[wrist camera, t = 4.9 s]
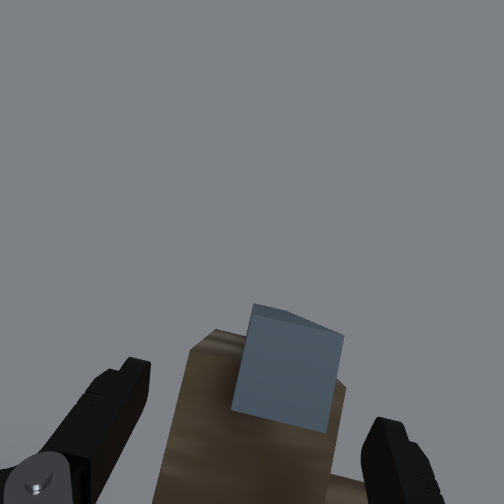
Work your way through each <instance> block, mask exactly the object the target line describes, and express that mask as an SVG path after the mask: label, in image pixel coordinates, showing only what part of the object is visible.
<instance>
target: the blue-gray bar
mask: <svg viewBox="0 0 504 504" xmlns="http://www.w3.org/2000/svg"><path fill="white" fill-rule="evenodd" d="M343 341H344V335H342V334H339V333H337V332H335V331H332V330H330V329H328V328H325V327H323V326H321V325H318V324H316V323H314V322H311V321H309V320H306V319H304V318H302V317H299V316H297V315H295V314H292V313H290V312H288V311H285V310H280V309H276V308H272V307H268V306H263V305H259V304H253V309H252V313H251V317H250V322H249V326H248V330H247V335H246V339H245V344H244V349H243V354H242V359H241V363H240V368H239V373H238V378H237V382H236V387H235V392H234V397H233V401H232V406H231V410H233V411H237V412H241V413H245V414H249V415H253V416H257V417H261V418H265V419H269V420H274V421H278V422H282V423H286V424H290V425H294V426H298V427H302V428H306V429H310V430H314V431H318V432H322V433H326V430H327V425H328V420H329V415H330V409H331V404H332V399H333V393H334V388H335V383H336V377H337V372H338V367H339V361H340V356H341V351H342V346H343Z"/></svg>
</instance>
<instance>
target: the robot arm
mask: <svg viewBox="0 0 504 504" xmlns="http://www.w3.org/2000/svg"><path fill="white" fill-rule="evenodd" d="M150 368H151V362H149V361H145V360H141V359H137V358H133V357H129V358H128V359H127V360H126V361H125V363H124V364H123V365H122V367H121V369H120V370H119V371H117V370H113V369H108V370H106V371H105V372H103V373H102V374H100V375H99V376H98V377H96V378H95V379H94V380H93V382H92V383H91V384H90V386H89V387H88V388H87V390H86V391H85V393H84V394H83V395H82V396H81V398H80V399H79V400H78V401H77V404H76V405H75V406H74V407H73V408H72V409H71V411H70V412H69V413H68V415H67V416H66V417H65V419H64V420H63V421H62V423H61V424H60V425H59V427H58V428H57V429H56V431H55V432H54V433H53V435H52V436H51V437H50V439H49V440H48V441H47V443H46V444H45V445H44V446H43V448H42V449H41V450H40V451H39V452H38V453H37V454H35V455H32V456H30V457H29V458H27V459H25V460H24V461H22V462H21V463H20V464H19V465H17V466H14V467H11V468H7V469H0V504H96V502H97V500H98V497H99V496H100V494H101V492H102V490H103V488H104V486H105V484H106V482H107V480H108V478H109V476H110V474H111V472H112V470H113V468H114V466H115V465H116V463H117V461H118V459H119V457H120V455H121V453H122V451H123V449H124V447H125V445H126V443H127V441H128V439H129V437H130V435H131V433H132V431H133V429H134V427H135V425H136V423H137V422H138V420H139V418H140V416H141V414H142V412H143V409H144V407H145V404H146V401H147V397H148V392H149V381H150V370H151V369H150ZM361 468H362V473H363V478H364V484H365V489H366V495H367V500H368V504H445V502H444V499H443V497H442V495H441V494H440V489H439V486H438V483H437V481H436V480H435V476H434V473H433V470H432V468H431V465H430V462H429V460H428V458H427V457H426V455H425V454H424V453H423V451H422V450H421V449H420V447H419V446H418V444H417V443H415V442H411V441H409V439H408V436H407V433H406V430H405V427H404V425H403V424H402V423H401V422H399V421H395V420H391V419H387V418H383V417H377V418H376V419H375V421H374V423H373V425H372V427H371V429H370V431H369V433H368V436H367V438H366V440H365V442H364V444H363V447H362V450H361Z"/></svg>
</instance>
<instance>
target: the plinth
mask: <svg viewBox="0 0 504 504" xmlns="http://www.w3.org/2000/svg"><path fill="white" fill-rule="evenodd" d="M245 339H246V336H242V335H238V334H233V333H230V332H226V331H221V330H217V329H215V330H214V331H213V332H211V333H210V334H209V335H208V336H207V337H205V338H204V339H203V340H202V341H200V342H199V343H198V344H197V345H196V346H194V347H193V348H192V349H191V350H190V352H189V356H188V360H187V365H186V368H185V373H184V377H183V381H182V384H181V388H180V393H179V396H178V401H177V405H176V409H175V413H174V417H173V421H172V425H171V429H170V433H169V437H168V441H167V445H166V449H165V453H164V457H163V461H162V465H161V469H160V473H159V477H158V481H157V485H156V490H155V493H154V497H153V501H152V504H368V500H367V495H366V489H365V484H364V482H361V481H357V480H353V479H349V478H345V477H341V476H337V475H333V474H330V472H331V467H332V462H333V456H334V451H335V446H336V440H337V435H338V429H339V424H340V418H341V413H342V408H343V402H344V397H345V391H346V387H345V386H344V385H343V384H342V383H341V382H340V381H339V380H338V379H337V378H336V383H335V388H334V393H333V399H332V404H331V409H330V415H329V420H328V425H327V430H326V433H322V432H318V431H314V430H310V429H306V428H302V427H298V426H294V425H290V424H286V423H282V422H278V421H274V420H269V419H265V418H261V417H257V416H253V415H249V414H245V413H241V412H237V411H233V410H231V406H232V401H233V397H234V392H235V387H236V382H237V378H238V373H239V368H240V363H241V359H242V354H243V349H244V344H245Z"/></svg>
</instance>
